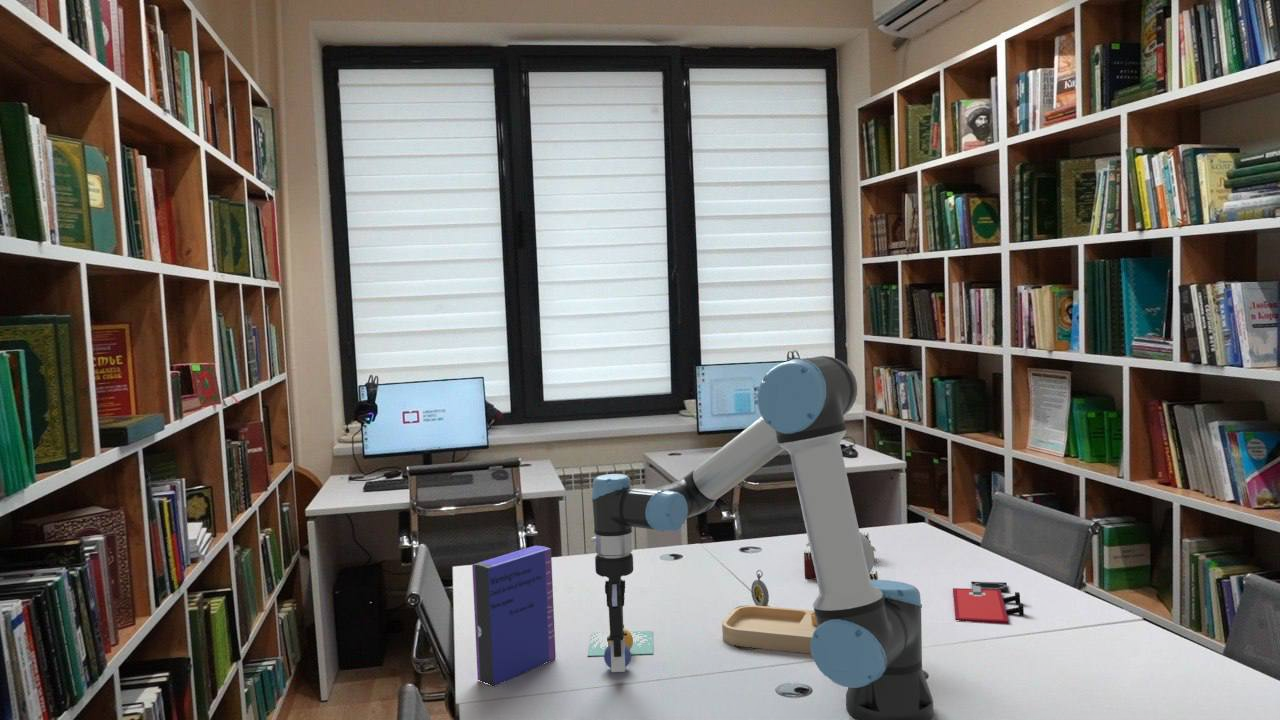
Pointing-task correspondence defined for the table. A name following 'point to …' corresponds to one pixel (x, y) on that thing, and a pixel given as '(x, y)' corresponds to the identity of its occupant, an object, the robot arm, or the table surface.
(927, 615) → the table surface
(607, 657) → the blue ball
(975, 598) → the red board with handle
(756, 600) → the pocket watch
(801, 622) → the lamp
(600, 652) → the green mark
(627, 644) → the orange ball
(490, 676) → the purple book
